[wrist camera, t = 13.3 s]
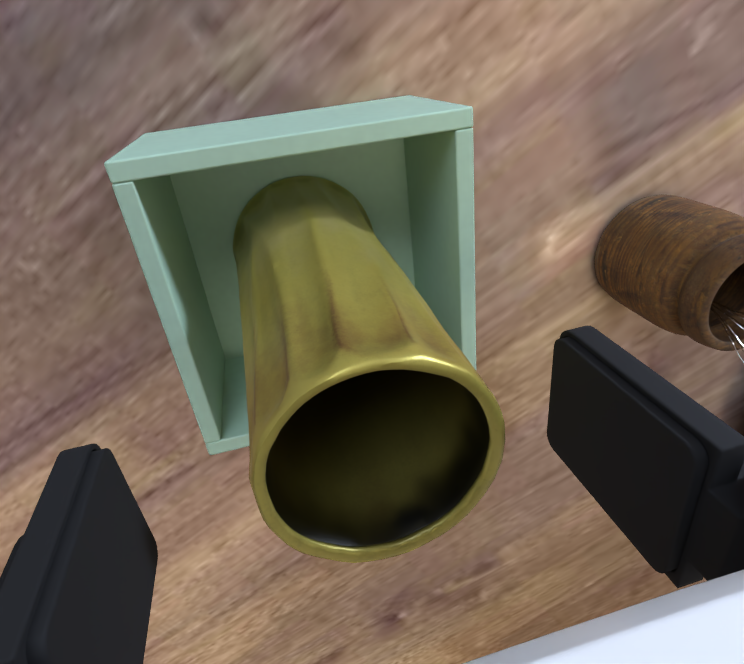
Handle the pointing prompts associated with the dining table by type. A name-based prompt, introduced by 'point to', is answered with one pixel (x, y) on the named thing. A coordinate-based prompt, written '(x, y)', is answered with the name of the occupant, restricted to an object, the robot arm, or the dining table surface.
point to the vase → (352, 384)
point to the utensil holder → (678, 268)
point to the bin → (273, 163)
